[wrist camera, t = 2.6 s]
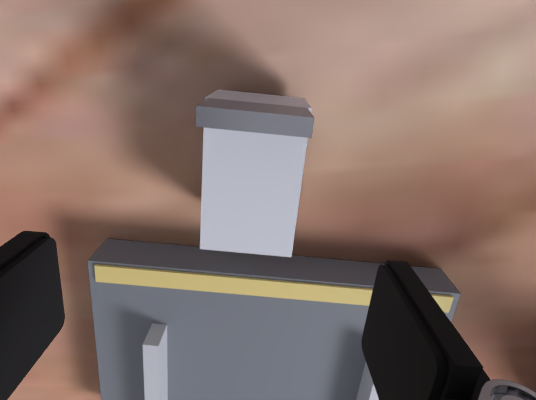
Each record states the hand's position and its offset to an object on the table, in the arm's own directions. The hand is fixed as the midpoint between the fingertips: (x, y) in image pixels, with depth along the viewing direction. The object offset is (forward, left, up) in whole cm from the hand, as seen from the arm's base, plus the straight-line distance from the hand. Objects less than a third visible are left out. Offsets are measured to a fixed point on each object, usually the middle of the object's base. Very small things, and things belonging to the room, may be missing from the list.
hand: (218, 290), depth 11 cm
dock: (+15, +2, -14) cm, 20 cm away
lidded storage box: (0, 0, -14) cm, 14 cm away
